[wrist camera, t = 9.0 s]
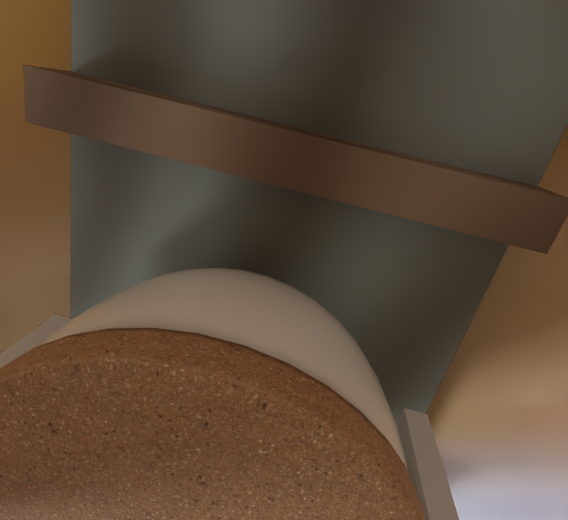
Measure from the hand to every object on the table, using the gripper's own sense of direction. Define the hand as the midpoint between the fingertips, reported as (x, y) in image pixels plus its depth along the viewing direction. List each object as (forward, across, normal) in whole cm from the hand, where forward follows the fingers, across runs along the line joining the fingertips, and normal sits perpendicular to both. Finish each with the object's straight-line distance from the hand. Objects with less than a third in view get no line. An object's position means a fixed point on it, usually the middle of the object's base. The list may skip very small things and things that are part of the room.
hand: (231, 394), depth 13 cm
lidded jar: (+3, 0, 0) cm, 3 cm away
